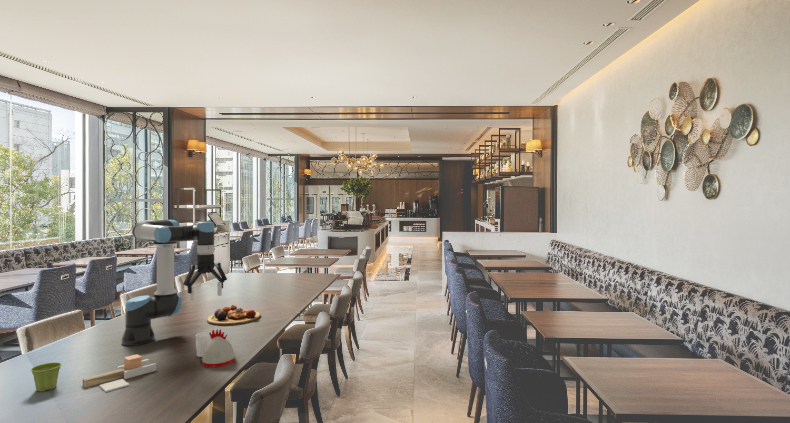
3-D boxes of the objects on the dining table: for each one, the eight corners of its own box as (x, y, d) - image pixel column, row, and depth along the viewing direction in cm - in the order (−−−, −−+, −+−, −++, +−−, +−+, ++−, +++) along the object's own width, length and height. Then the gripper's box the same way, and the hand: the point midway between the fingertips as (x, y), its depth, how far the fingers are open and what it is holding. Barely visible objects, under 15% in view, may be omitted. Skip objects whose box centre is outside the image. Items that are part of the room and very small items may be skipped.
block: (124, 373, 180) (124, 357, 180) (137, 370, 184) (137, 354, 184) (128, 376, 177) (128, 360, 176) (141, 373, 180) (141, 356, 180)
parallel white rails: (117, 373, 180) (117, 366, 180) (148, 365, 189) (148, 358, 189) (124, 379, 174) (124, 371, 174) (156, 370, 183) (155, 363, 183)
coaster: (99, 386, 167) (99, 385, 167) (122, 380, 173) (122, 378, 173) (105, 392, 161) (105, 390, 161) (129, 385, 167) (129, 384, 167)
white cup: (206, 358, 198) (206, 337, 198) (191, 357, 200) (191, 336, 200) (216, 352, 206) (216, 332, 206) (202, 351, 207) (202, 331, 207)
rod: (82, 386, 168) (82, 378, 168) (122, 375, 178) (122, 368, 178) (84, 388, 166) (84, 380, 166) (124, 377, 177) (124, 370, 176)
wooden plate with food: (271, 317, 273) (271, 305, 273) (228, 329, 246) (228, 315, 246) (239, 311, 290) (239, 299, 290) (196, 321, 263) (196, 308, 263)
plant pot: (42, 383, 169) (42, 362, 169) (67, 383, 170) (67, 361, 170) (24, 394, 160) (24, 371, 160) (50, 393, 161) (50, 370, 161)
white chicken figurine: (211, 356, 201) (210, 325, 201) (239, 356, 200) (239, 325, 200) (196, 367, 187) (196, 333, 187) (226, 367, 186) (226, 334, 186)
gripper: (182, 256, 190) (182, 303, 190) (234, 252, 209) (234, 294, 209) (175, 255, 195) (175, 300, 195) (226, 251, 214) (226, 292, 214)
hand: (205, 297), depth 202 cm, fingers open, 13 cm apart
